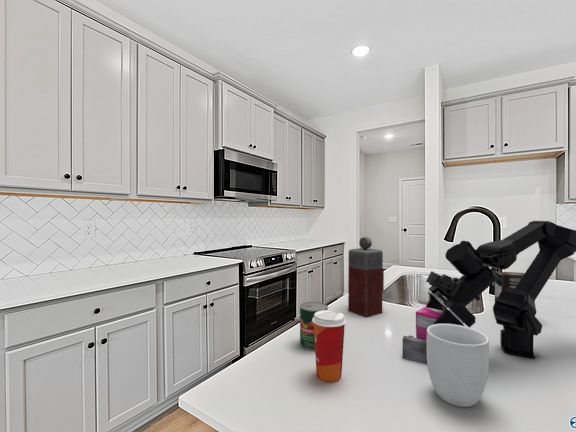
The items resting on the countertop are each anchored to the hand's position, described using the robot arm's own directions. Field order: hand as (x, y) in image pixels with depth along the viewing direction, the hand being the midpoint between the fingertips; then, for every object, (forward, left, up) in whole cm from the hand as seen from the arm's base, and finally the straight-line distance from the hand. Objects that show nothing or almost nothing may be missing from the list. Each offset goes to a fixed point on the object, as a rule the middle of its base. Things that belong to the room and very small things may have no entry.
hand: (425, 324), depth 80 cm
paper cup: (+18, +23, -8) cm, 30 cm away
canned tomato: (+28, +10, -8) cm, 30 cm away
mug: (-8, +16, -8) cm, 20 cm away
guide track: (-1, 0, -8) cm, 8 cm away
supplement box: (-1, -1, -8) cm, 8 cm away
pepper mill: (+23, -26, -8) cm, 36 cm away
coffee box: (-23, -44, -8) cm, 50 cm away
